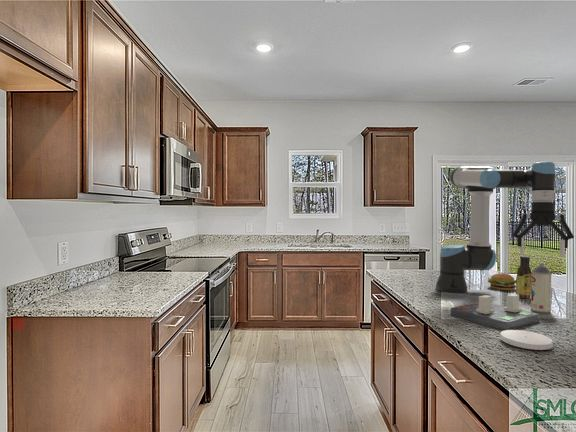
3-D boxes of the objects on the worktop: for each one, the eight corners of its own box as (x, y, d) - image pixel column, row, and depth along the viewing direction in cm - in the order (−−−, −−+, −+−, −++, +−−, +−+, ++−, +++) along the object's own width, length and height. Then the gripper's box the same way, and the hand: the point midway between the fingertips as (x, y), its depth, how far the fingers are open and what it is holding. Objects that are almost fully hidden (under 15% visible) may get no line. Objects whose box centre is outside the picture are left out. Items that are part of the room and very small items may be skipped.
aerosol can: (530, 308, 165) (531, 262, 165) (549, 310, 161) (551, 263, 161) (531, 312, 159) (532, 263, 159) (551, 314, 156) (552, 265, 155)
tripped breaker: (476, 311, 146) (476, 296, 146) (483, 310, 148) (483, 294, 148) (486, 314, 142) (486, 298, 142) (493, 312, 145) (494, 296, 145)
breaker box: (450, 315, 152) (450, 307, 152) (482, 308, 164) (482, 300, 164) (507, 330, 133) (507, 321, 133) (538, 321, 145) (538, 313, 145)
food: (481, 287, 210) (481, 272, 210) (498, 285, 216) (499, 271, 216) (505, 292, 197) (505, 276, 197) (522, 290, 203) (523, 275, 203)
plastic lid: (504, 334, 131) (505, 327, 131) (554, 344, 122) (554, 336, 122) (496, 345, 120) (496, 337, 120) (550, 357, 111) (550, 348, 111)
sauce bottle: (526, 299, 182) (527, 257, 181) (513, 296, 187) (514, 256, 187) (534, 298, 185) (535, 257, 184) (521, 295, 190) (522, 255, 190)
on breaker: (503, 310, 149) (504, 294, 149) (510, 308, 151) (511, 293, 151) (514, 312, 145) (514, 296, 145) (521, 310, 148) (521, 295, 148)
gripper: (508, 201, 151) (507, 255, 151) (584, 201, 143) (583, 258, 143) (504, 201, 158) (503, 253, 158) (577, 202, 150) (576, 256, 150)
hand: (541, 255), depth 151 cm, fingers open, 13 cm apart
